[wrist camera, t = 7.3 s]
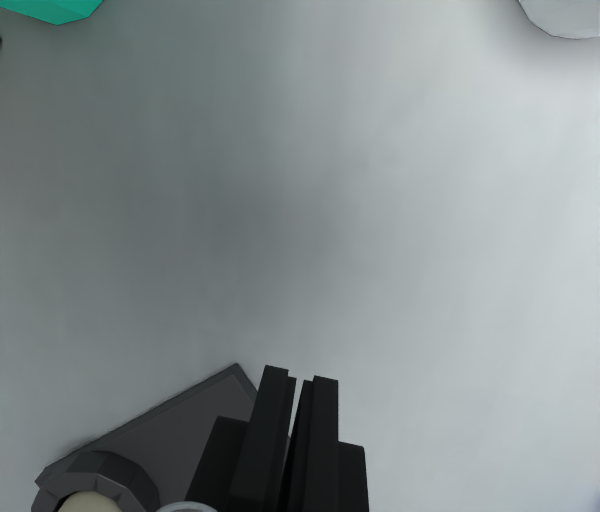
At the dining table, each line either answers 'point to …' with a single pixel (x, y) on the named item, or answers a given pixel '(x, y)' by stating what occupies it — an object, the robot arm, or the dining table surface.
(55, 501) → the scale
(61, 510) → the button
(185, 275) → the dining table surface
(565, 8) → the white cylinder
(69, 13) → the candle
